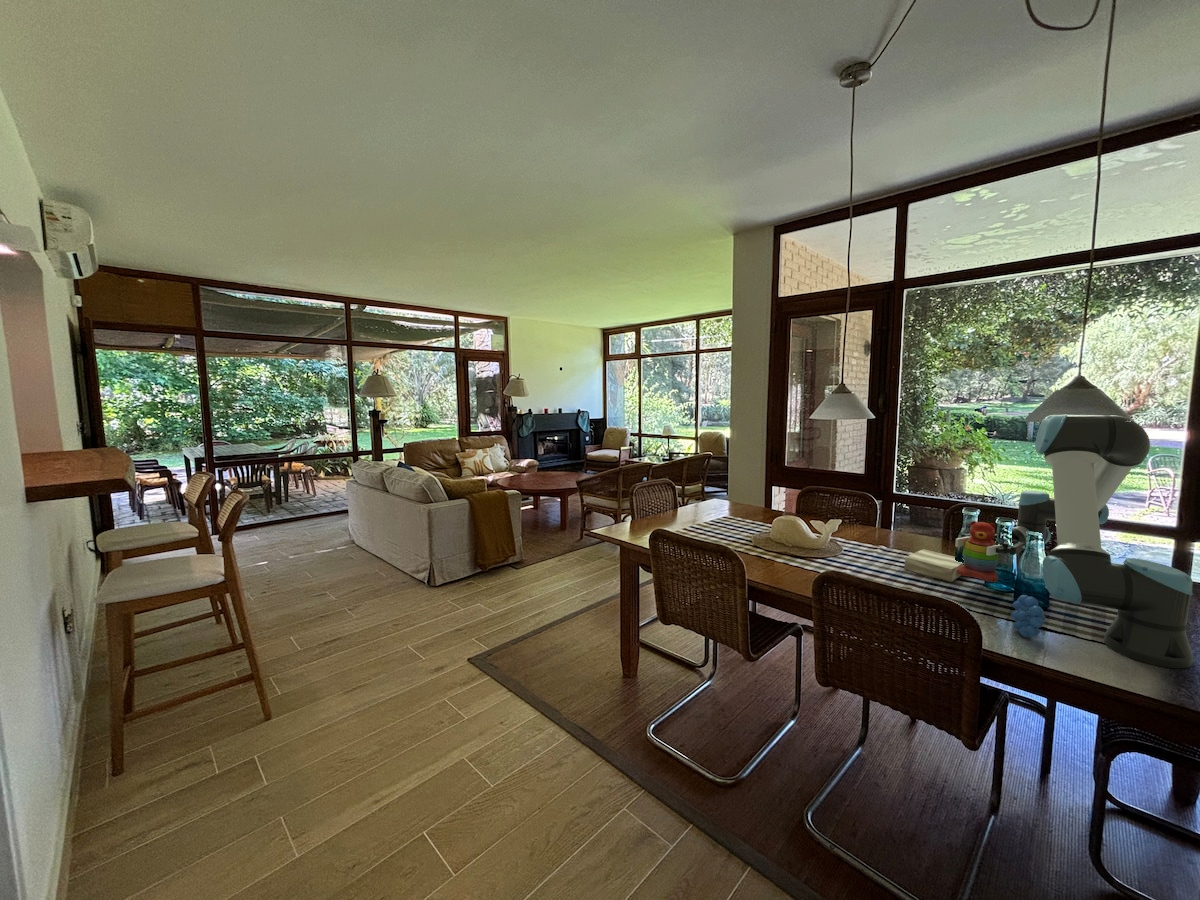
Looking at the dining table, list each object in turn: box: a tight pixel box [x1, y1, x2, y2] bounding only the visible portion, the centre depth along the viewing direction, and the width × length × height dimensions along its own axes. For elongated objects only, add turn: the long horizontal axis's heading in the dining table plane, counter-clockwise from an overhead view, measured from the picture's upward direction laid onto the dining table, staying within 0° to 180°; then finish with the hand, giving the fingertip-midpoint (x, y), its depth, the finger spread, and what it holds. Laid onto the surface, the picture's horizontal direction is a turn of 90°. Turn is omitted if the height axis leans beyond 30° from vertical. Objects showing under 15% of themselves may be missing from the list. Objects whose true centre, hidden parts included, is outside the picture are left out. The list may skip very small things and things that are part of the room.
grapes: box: [1010, 594, 1047, 638], centre depth 133 cm, size 12×7×12 cm, turn 165°
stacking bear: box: [956, 520, 1000, 583], centre depth 161 cm, size 11×10×18 cm
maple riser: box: [904, 548, 964, 582], centre depth 181 cm, size 15×15×5 cm
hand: (971, 546), depth 159 cm, fingers closed on stacking bear, 9 cm apart
